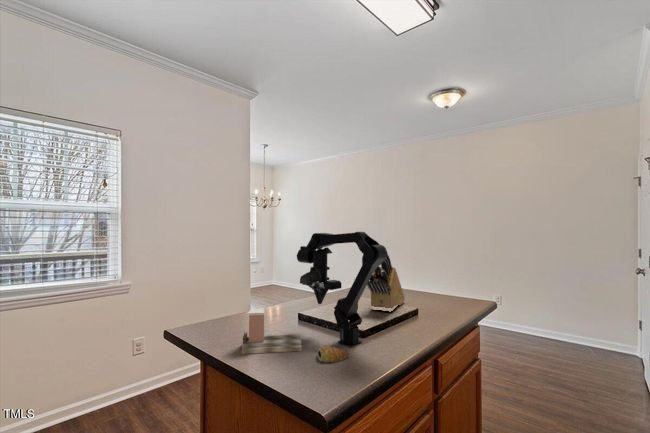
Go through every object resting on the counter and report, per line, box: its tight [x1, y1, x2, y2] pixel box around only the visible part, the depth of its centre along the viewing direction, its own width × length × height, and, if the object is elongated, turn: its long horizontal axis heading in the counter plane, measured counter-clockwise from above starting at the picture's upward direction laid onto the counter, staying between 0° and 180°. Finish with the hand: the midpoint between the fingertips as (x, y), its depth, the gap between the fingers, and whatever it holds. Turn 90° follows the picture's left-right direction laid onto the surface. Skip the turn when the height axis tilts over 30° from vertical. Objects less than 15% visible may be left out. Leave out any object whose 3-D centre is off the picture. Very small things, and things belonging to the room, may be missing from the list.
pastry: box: [316, 345, 347, 364], centre depth 104 cm, size 9×7×4 cm
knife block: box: [366, 253, 405, 308], centre depth 167 cm, size 11×35×31 cm, turn 152°
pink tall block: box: [248, 308, 266, 343], centre depth 113 cm, size 5×5×11 cm
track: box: [241, 332, 302, 355], centre depth 114 cm, size 20×10×4 cm, turn 98°
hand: (319, 304), depth 127 cm, fingers closed
